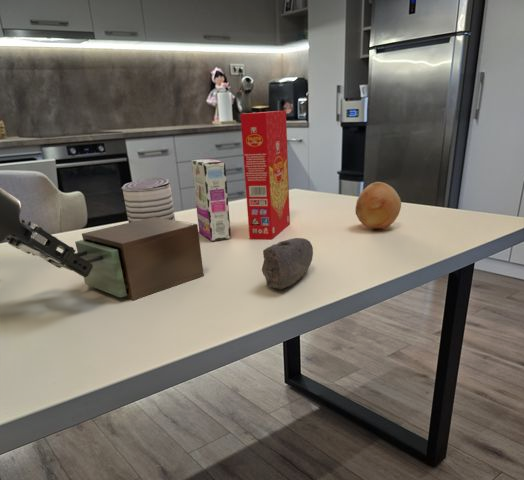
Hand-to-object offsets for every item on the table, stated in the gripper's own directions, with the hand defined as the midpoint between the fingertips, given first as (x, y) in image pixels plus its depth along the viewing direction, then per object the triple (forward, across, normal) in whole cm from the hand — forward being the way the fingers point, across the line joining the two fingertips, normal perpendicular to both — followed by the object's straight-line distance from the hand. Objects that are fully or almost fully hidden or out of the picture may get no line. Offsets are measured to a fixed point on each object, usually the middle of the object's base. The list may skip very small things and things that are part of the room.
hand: (75, 266), depth 74 cm
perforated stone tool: (+23, -21, -14) cm, 34 cm away
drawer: (+9, 0, -2) cm, 9 cm away
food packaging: (+40, +7, -32) cm, 51 cm away
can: (+29, +32, -21) cm, 48 cm away
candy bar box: (+33, +15, -25) cm, 44 cm away
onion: (+50, -13, -41) cm, 66 cm away
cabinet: (+13, 0, -5) cm, 14 cm away
